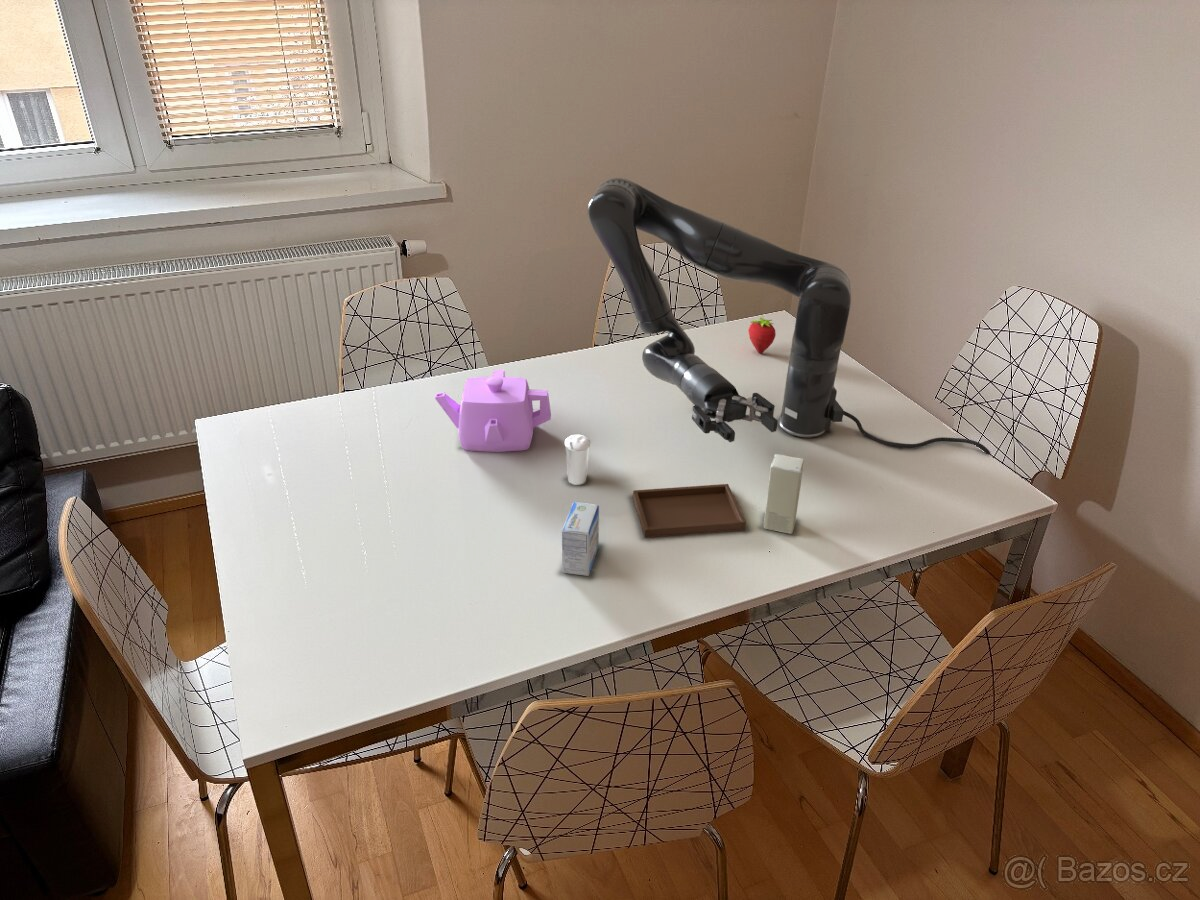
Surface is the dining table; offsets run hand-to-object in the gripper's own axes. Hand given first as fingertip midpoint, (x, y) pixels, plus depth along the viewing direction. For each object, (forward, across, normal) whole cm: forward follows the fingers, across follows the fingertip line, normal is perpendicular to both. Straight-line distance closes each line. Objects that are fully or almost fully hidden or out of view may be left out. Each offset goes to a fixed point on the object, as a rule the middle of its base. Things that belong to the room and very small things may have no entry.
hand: (754, 432), depth 152 cm
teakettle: (-34, -37, +12) cm, 52 cm away
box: (+11, 0, +13) cm, 17 cm away
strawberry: (-47, +32, +13) cm, 58 cm away
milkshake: (-14, -28, +12) cm, 33 cm away
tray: (+2, -13, +12) cm, 18 cm away
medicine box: (+7, -35, +12) cm, 38 cm away
